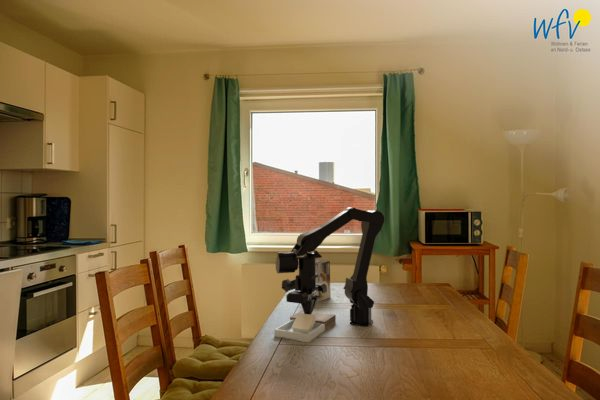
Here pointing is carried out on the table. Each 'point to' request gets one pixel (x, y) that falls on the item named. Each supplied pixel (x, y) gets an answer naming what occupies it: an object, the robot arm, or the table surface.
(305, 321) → the block
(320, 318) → the brown rectangular slab
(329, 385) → the table surface
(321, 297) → the coffee box
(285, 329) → the box
